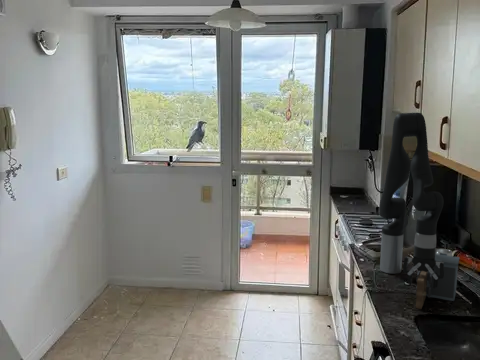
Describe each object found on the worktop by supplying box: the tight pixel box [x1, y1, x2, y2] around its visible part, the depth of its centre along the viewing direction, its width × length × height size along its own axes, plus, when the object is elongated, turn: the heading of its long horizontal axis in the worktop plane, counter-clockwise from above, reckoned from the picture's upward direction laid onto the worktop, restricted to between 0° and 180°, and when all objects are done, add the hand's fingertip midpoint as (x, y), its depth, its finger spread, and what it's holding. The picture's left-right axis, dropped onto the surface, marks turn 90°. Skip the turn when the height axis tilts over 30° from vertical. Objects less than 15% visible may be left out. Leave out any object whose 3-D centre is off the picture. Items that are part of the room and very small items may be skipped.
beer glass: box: [435, 248, 453, 256], centre depth 200 cm, size 7×7×15 cm
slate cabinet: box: [415, 254, 460, 302], centre depth 190 cm, size 12×14×15 cm
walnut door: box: [415, 271, 428, 310], centre depth 183 cm, size 12×3×11 cm, turn 152°
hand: (422, 285), depth 183 cm, fingers open, 8 cm apart
